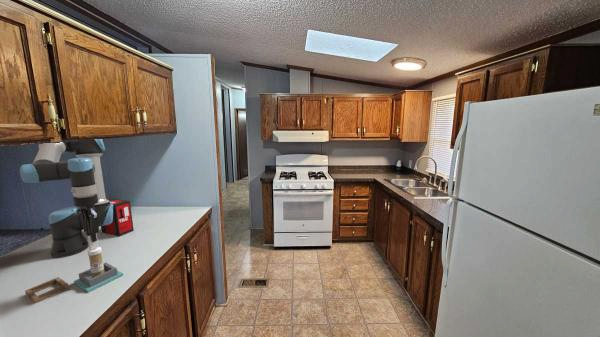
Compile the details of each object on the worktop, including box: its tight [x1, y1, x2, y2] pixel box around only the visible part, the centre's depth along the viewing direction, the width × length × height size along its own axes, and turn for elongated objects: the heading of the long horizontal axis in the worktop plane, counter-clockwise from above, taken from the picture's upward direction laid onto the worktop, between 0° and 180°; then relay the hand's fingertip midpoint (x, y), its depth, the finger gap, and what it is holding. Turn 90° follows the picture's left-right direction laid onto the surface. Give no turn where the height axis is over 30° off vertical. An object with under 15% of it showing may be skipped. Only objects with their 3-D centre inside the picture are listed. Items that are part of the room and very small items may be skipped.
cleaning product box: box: [100, 198, 135, 237], centre depth 154 cm, size 16×9×20 cm, turn 70°
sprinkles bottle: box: [87, 246, 104, 278], centre depth 106 cm, size 5×5×13 cm
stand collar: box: [24, 276, 70, 304], centre depth 99 cm, size 10×10×2 cm
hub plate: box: [73, 262, 124, 293], centre depth 107 cm, size 13×13×4 cm
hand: (94, 247), depth 105 cm, fingers closed
